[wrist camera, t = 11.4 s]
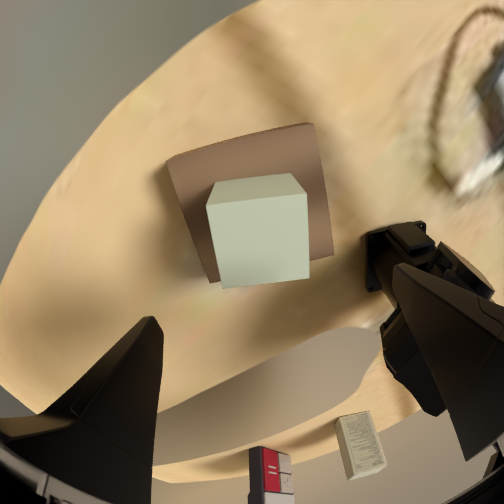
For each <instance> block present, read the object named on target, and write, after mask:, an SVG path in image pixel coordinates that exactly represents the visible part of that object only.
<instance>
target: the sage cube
mask: <svg viewBox="0 0 504 504" xmlns="http://www.w3.org/2000/svg"><path fill="white" fill-rule="evenodd" d="M206 209H207V214H208V219H209V224H210V230H211V235H212V240H213V245H214V249H215V254H216V259H217V264H218V269H219V273H220V278H221V283H222V287H223V289H224V288H233V287H242V286H251V285H259V284H268V283H276V282H284V281H292V280H299V279H307V278H309V232H308V208H307V193H306V192H305V191H304V189H303V188H302V187H301V186H300V184H299V183H298V182H297V181H296V179H295V178H294V177H293V176H292V174H291V173H286V174H276V175H267V176H258V177H250V178H242V179H234V180H227V181H220V182H215V184H214V187H213V189H212V192H211V194H210V197H209V199H208V202H207V204H206Z"/></svg>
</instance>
